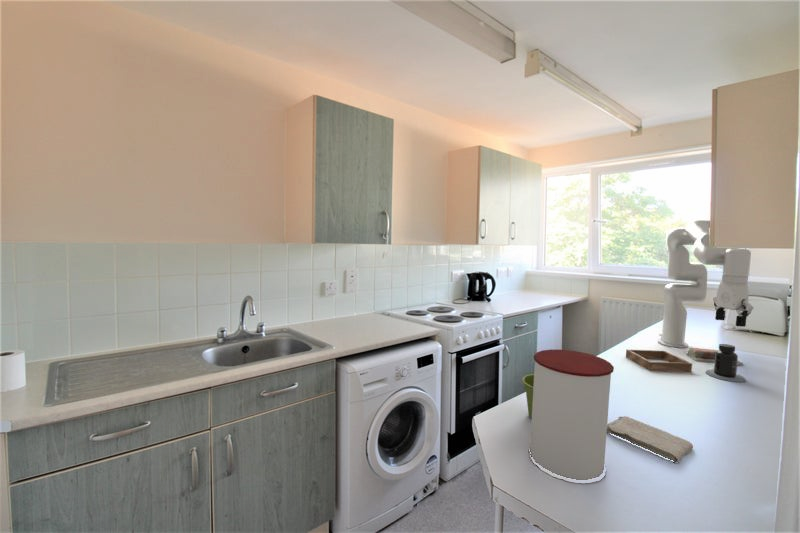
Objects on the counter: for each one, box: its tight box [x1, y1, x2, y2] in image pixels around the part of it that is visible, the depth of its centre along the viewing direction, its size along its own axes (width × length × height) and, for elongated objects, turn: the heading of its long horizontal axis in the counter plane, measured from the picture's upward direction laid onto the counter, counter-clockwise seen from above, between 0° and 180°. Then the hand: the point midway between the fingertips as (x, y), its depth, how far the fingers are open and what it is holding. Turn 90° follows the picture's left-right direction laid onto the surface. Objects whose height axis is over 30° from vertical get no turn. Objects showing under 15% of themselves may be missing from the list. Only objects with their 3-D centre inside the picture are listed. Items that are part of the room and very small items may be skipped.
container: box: [529, 349, 615, 480], centre depth 89 cm, size 17×17×25 cm
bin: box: [625, 348, 693, 373], centre depth 161 cm, size 17×17×4 cm
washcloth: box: [607, 415, 694, 464], centre depth 100 cm, size 12×18×3 cm, turn 36°
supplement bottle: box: [713, 343, 739, 377], centre depth 148 cm, size 7×7×12 cm
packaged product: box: [684, 347, 744, 366], centre depth 168 cm, size 18×5×10 cm
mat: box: [705, 369, 746, 383], centre depth 148 cm, size 12×12×1 cm
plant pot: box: [521, 373, 534, 419], centre depth 110 cm, size 12×12×11 cm
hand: (729, 322), depth 147 cm, fingers open, 9 cm apart
